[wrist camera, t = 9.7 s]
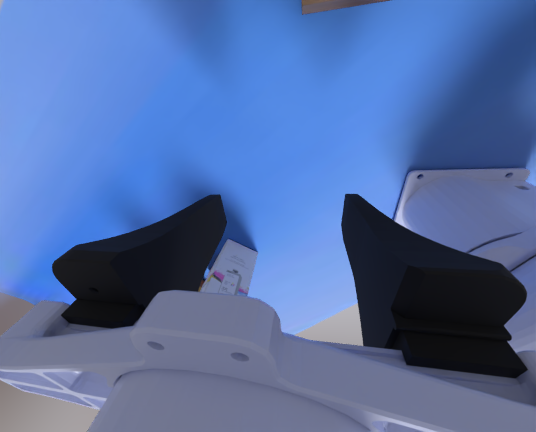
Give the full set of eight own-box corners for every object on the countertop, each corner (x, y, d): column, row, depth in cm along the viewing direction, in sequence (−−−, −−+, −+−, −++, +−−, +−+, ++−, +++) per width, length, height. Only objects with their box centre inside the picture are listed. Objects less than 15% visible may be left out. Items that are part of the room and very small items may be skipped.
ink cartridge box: (237, 283, 34) (199, 399, 22) (209, 270, 33) (153, 383, 21) (260, 252, 29) (228, 378, 17) (228, 236, 28) (171, 356, 16)
